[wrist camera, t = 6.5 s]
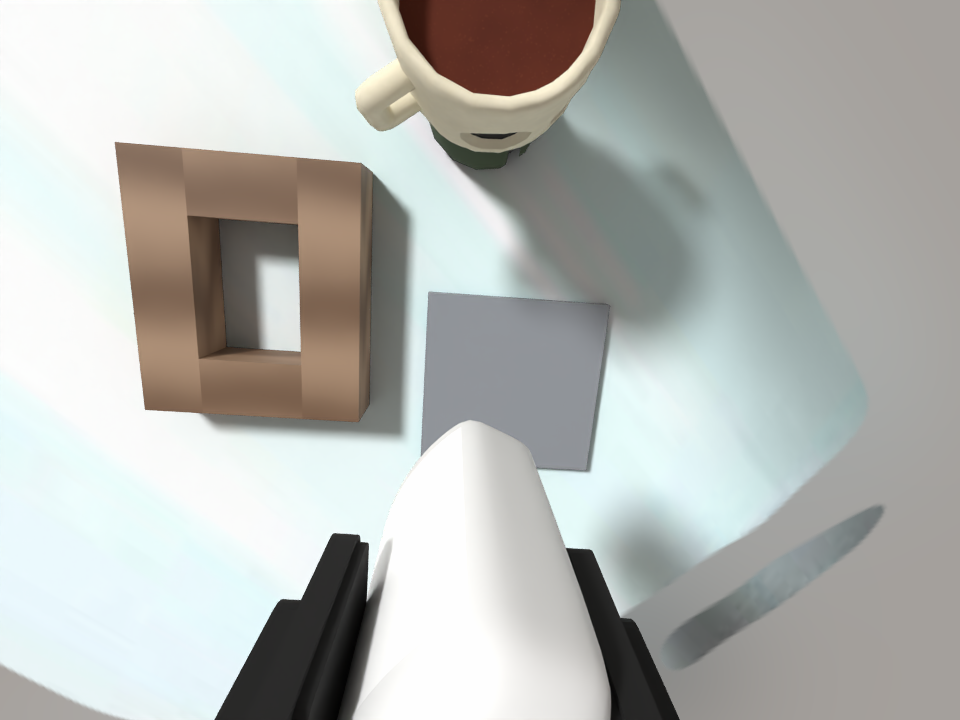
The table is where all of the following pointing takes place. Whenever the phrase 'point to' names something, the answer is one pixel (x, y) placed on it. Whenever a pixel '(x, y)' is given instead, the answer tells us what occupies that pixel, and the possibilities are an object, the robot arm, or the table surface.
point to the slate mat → (515, 371)
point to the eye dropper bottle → (475, 597)
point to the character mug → (485, 70)
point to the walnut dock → (199, 289)
